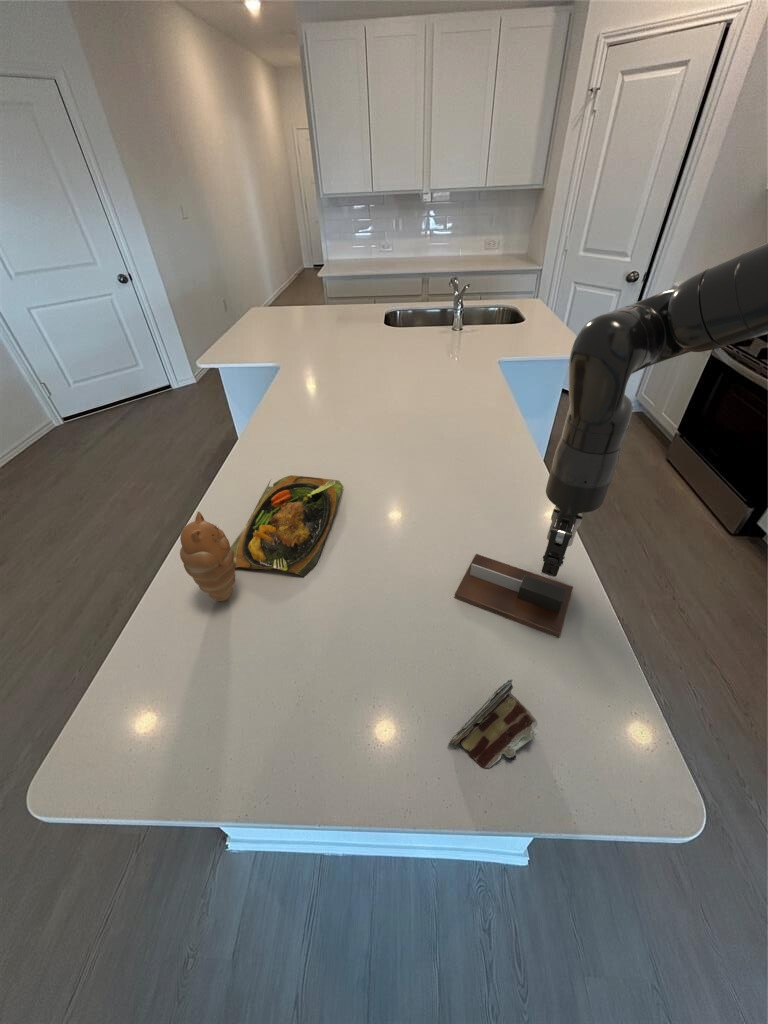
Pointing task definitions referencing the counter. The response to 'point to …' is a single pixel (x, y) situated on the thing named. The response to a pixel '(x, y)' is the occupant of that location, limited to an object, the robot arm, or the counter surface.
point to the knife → (525, 588)
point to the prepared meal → (288, 525)
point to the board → (511, 597)
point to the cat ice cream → (208, 558)
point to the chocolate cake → (497, 728)
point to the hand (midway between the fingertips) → (555, 555)
